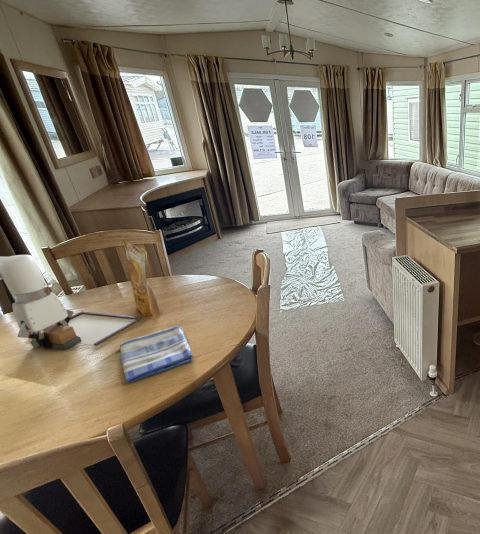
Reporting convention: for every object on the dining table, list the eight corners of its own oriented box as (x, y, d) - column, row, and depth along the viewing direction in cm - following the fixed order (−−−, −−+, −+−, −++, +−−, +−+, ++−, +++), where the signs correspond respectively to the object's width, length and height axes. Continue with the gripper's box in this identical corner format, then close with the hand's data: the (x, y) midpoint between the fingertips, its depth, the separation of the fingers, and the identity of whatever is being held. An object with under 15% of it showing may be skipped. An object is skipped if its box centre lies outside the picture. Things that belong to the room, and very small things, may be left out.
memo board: (29, 340, 115) (27, 336, 114) (83, 314, 131) (81, 311, 130) (97, 348, 113) (95, 344, 112) (144, 320, 128) (142, 317, 127)
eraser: (32, 346, 111) (24, 331, 108) (50, 337, 115) (42, 322, 113) (65, 350, 110) (57, 334, 107) (81, 341, 114) (74, 326, 112)
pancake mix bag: (154, 299, 143) (131, 236, 131) (168, 315, 132) (146, 248, 121) (133, 305, 138) (108, 240, 126) (147, 322, 127) (121, 253, 116)
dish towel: (183, 329, 124) (180, 322, 123) (196, 360, 108) (193, 353, 107) (120, 348, 113) (117, 341, 112) (125, 386, 97) (121, 379, 96)
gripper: (52, 281, 113) (74, 327, 120) (-15, 307, 97) (14, 357, 105) (72, 283, 112) (93, 329, 119) (7, 309, 97) (36, 360, 104)
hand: (56, 341), depth 112 cm, fingers closed on eraser, 5 cm apart
